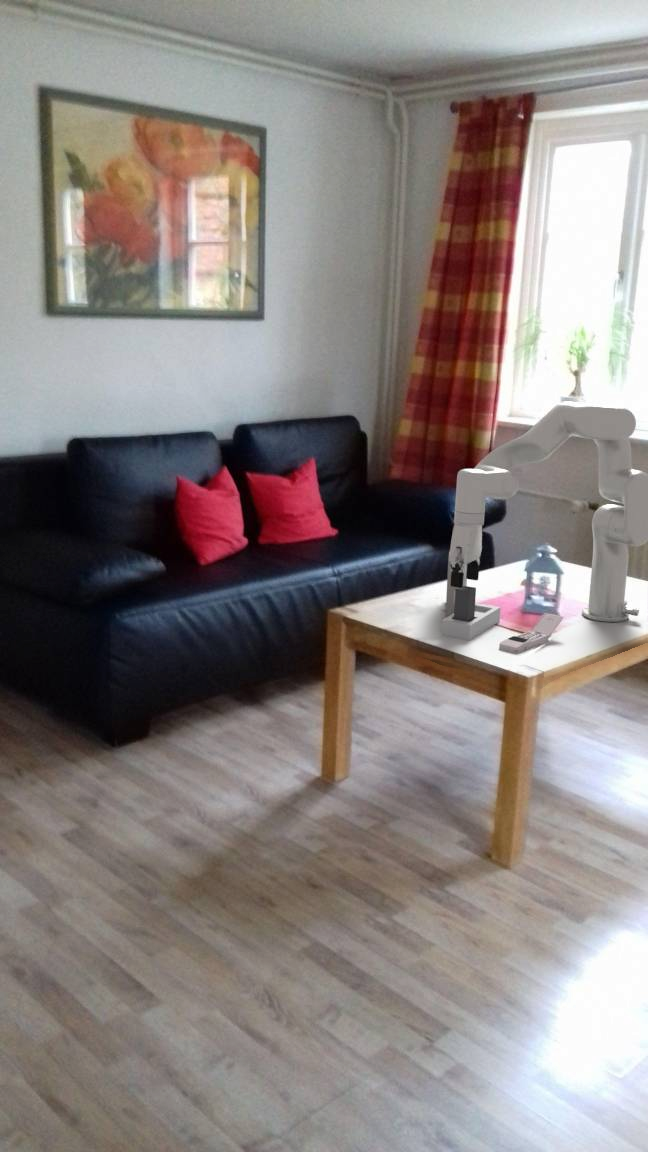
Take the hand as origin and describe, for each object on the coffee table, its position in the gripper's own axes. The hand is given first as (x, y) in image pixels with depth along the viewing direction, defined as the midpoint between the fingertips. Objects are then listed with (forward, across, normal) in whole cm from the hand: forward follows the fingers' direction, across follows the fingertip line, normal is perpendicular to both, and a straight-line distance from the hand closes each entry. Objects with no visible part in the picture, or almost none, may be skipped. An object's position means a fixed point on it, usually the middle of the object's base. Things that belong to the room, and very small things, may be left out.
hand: (464, 583), depth 264 cm
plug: (+13, -1, 0) cm, 13 cm away
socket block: (+14, -6, 0) cm, 15 cm away
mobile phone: (+15, -4, +17) cm, 23 cm away
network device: (+14, -19, -10) cm, 26 cm away
